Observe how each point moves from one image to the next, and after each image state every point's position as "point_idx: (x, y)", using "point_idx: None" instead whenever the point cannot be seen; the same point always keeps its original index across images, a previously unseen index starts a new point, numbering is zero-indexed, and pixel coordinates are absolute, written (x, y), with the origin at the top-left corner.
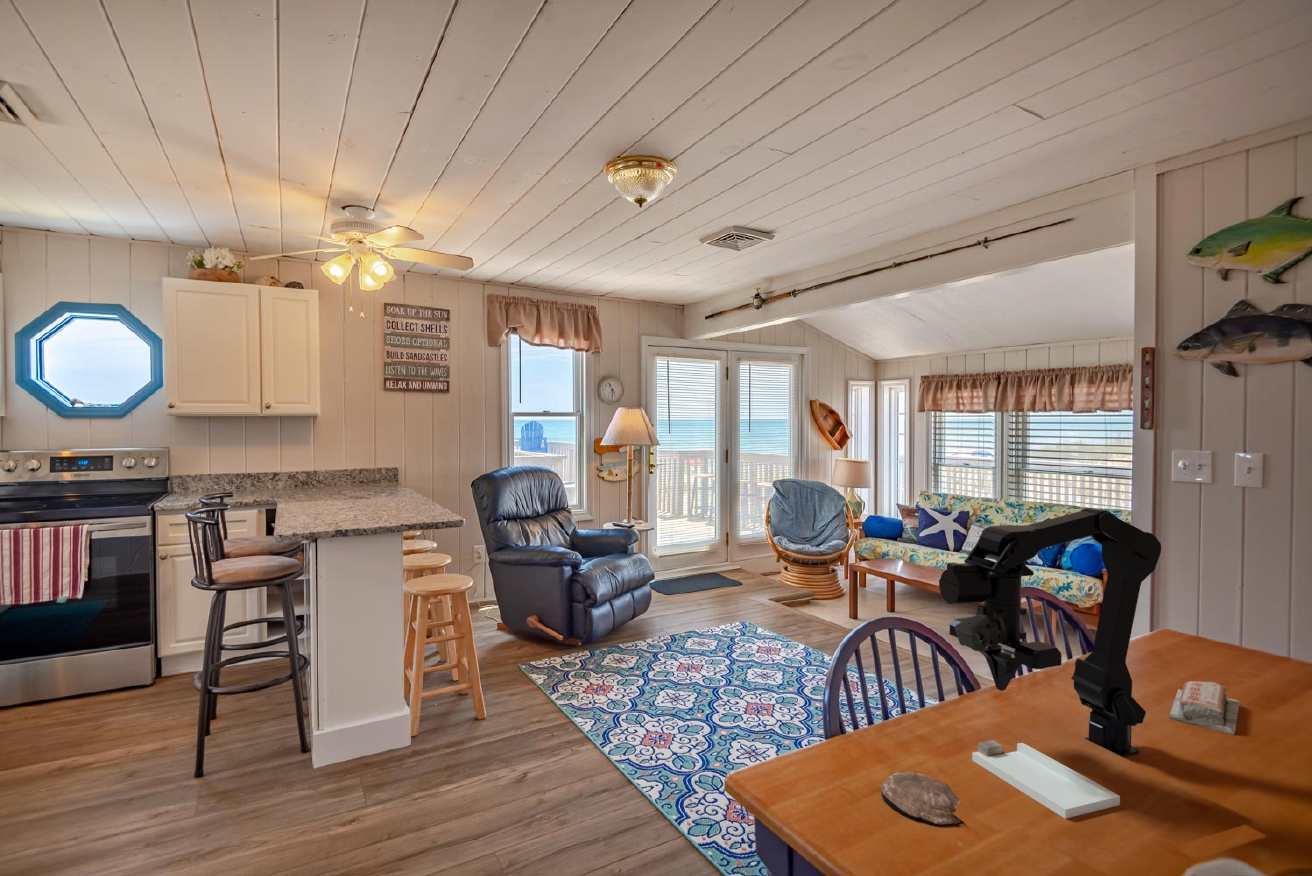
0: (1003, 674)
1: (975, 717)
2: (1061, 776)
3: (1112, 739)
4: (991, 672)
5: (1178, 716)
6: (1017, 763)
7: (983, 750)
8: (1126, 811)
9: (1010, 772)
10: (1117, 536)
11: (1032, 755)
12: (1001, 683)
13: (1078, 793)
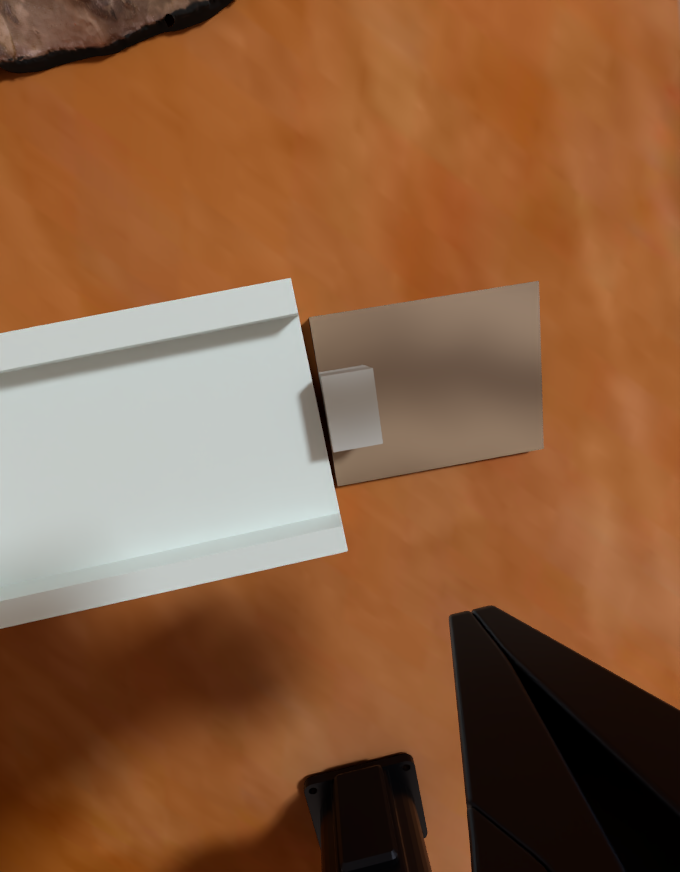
0: (471, 828)
1: (630, 542)
2: (150, 553)
3: (332, 841)
4: (664, 707)
5: None
6: (251, 456)
7: (341, 371)
8: (13, 629)
9: (102, 338)
10: None
11: (270, 535)
12: (455, 674)
13: (31, 536)
